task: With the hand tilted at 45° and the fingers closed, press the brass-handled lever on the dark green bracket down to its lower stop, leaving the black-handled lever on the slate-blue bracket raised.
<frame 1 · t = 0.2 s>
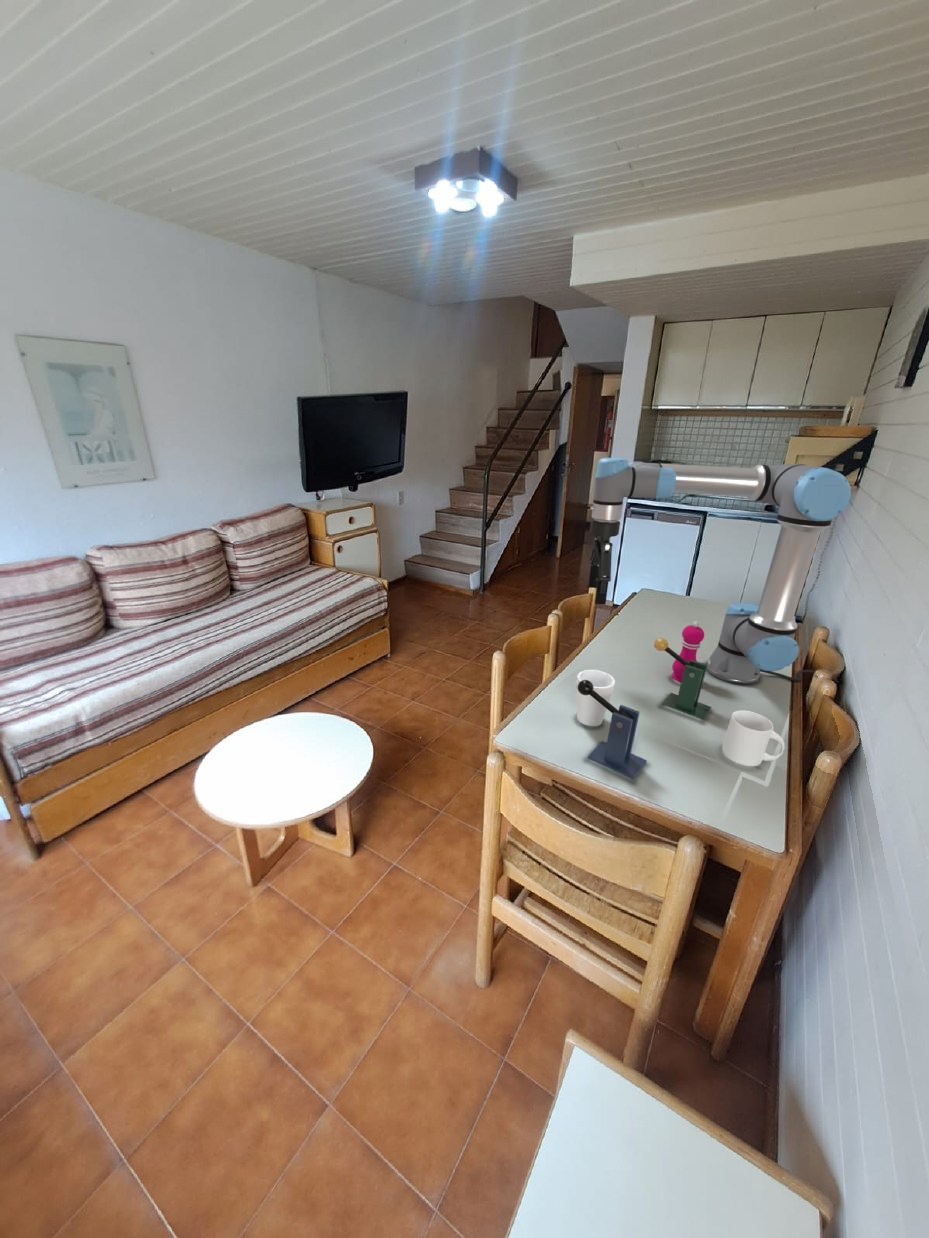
hand: (596, 595, 138), 28 cm above the table, tool pointing down, fingers open, 13 cm apart
blue bracket: (616, 762, 115), on the table
mug: (748, 760, 117), on the table
green bracket: (685, 708, 137), on the table
foam cup: (589, 722, 130), on the table
pepper mill: (681, 681, 152), on the table
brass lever: (677, 657, 134), point 14 cm above the table, hinge at 25.0°
black lever: (604, 702, 112), point 14 cm above the table, hinge at 22.0°
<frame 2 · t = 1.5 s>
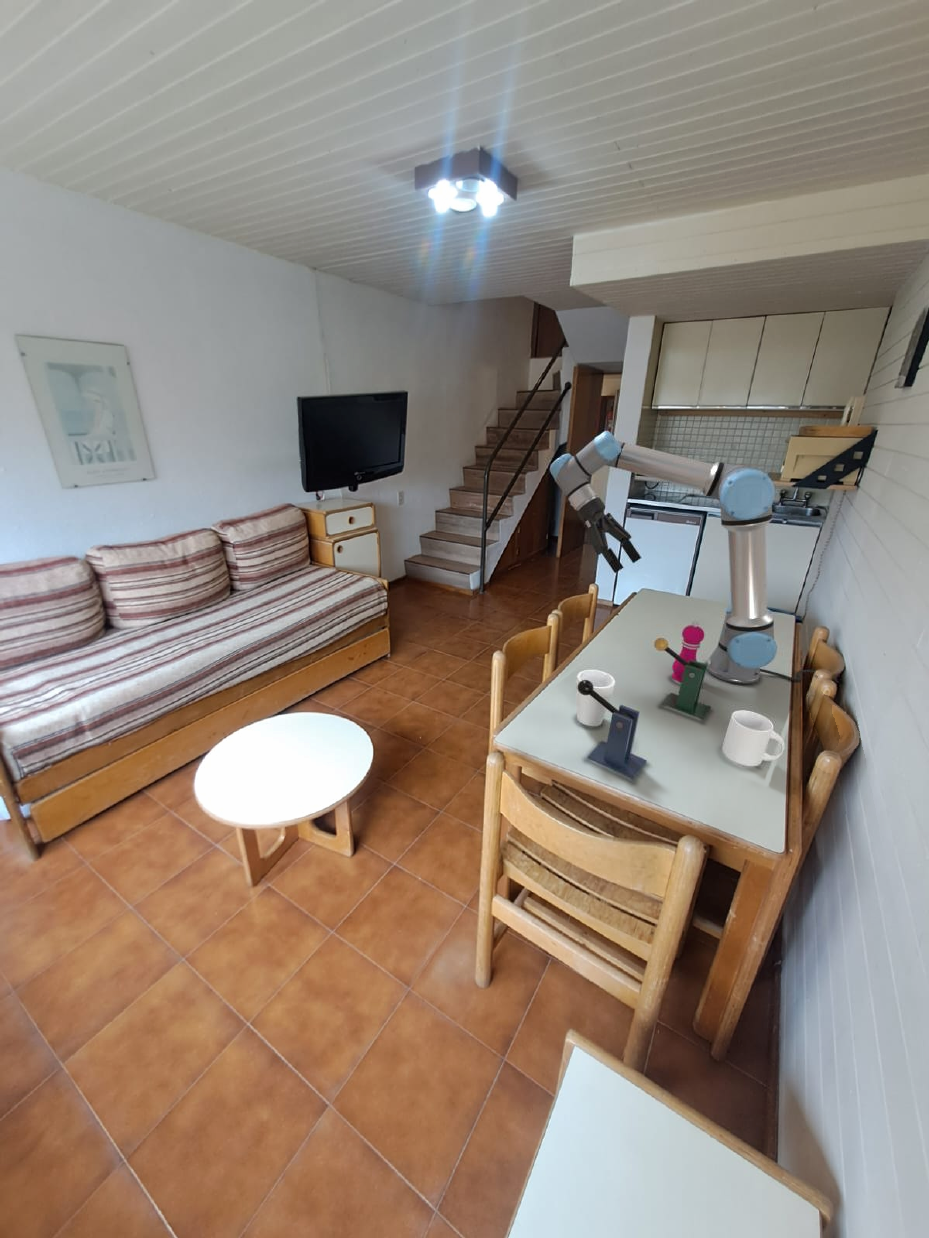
hand: (628, 565, 139), 36 cm above the table, tool tilted 45°, fingers open, 13 cm apart
nothing on the table moved.
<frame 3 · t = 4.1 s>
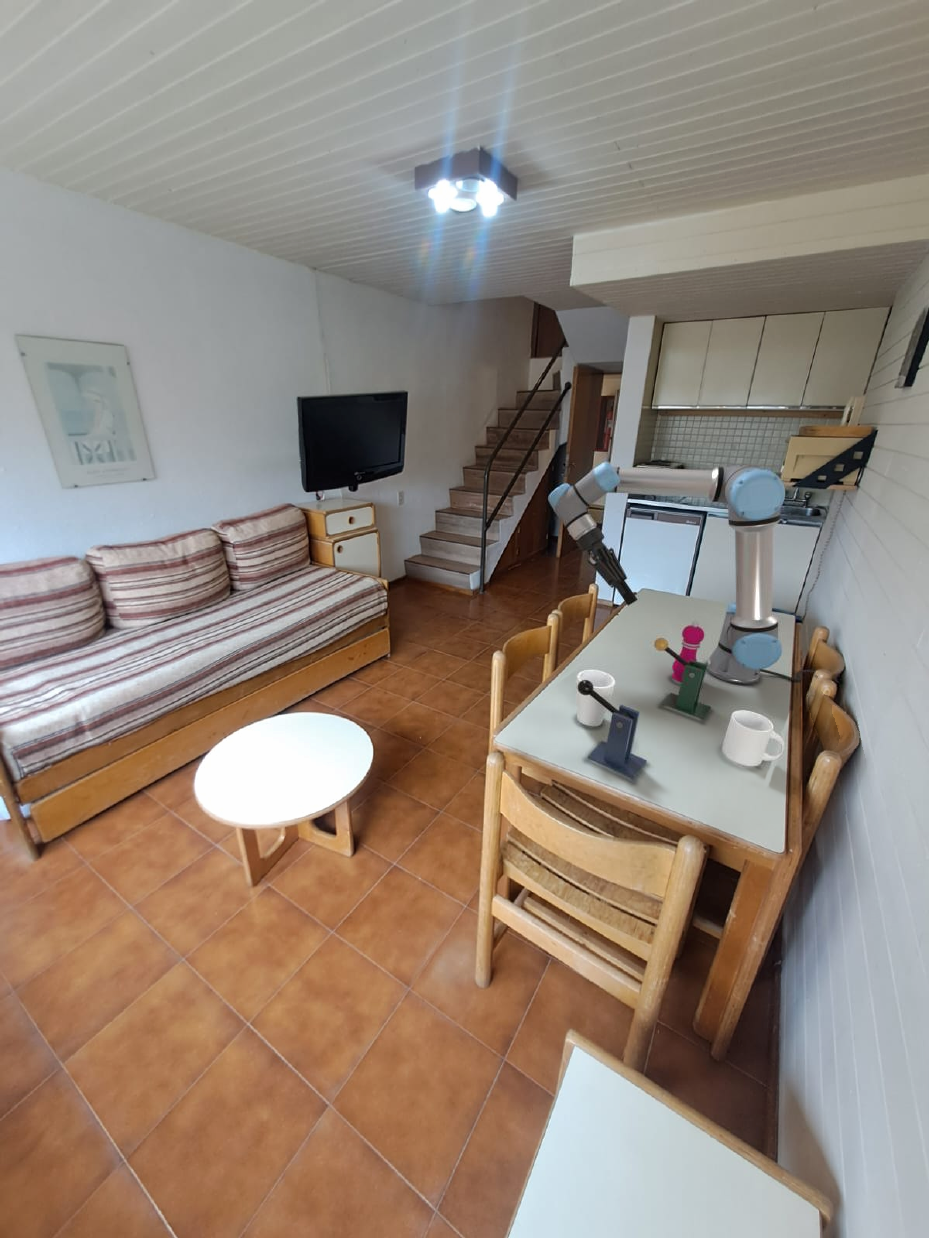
hand: (632, 602, 138), 26 cm above the table, tool tilted 45°, fingers closed
nothing on the table moved.
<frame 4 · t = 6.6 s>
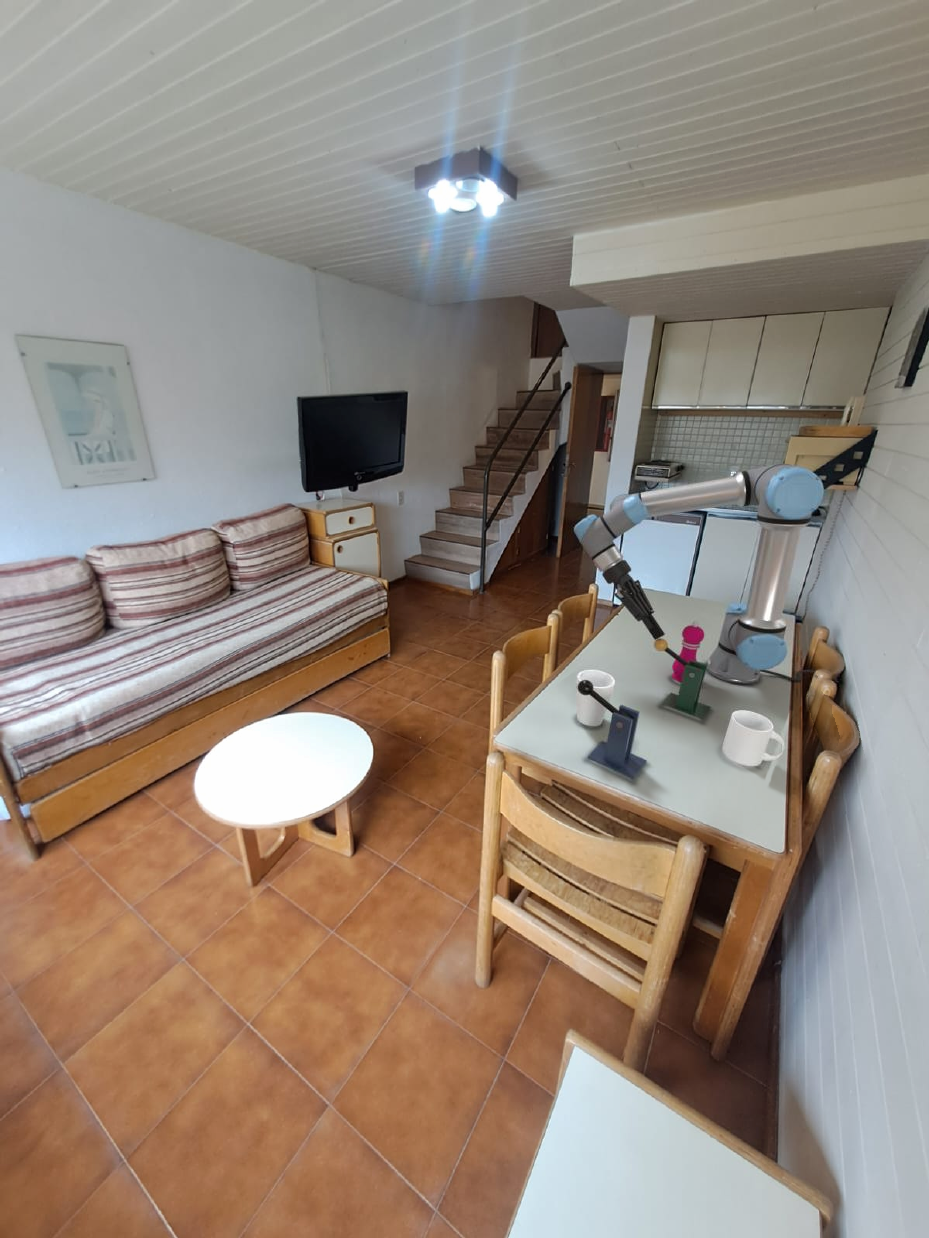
hand: (659, 637, 136), 19 cm above the table, tool tilted 45°, fingers closed
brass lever: (677, 657, 134), point 14 cm above the table, hinge at 24.2°, touching gripper
everything else where it was.
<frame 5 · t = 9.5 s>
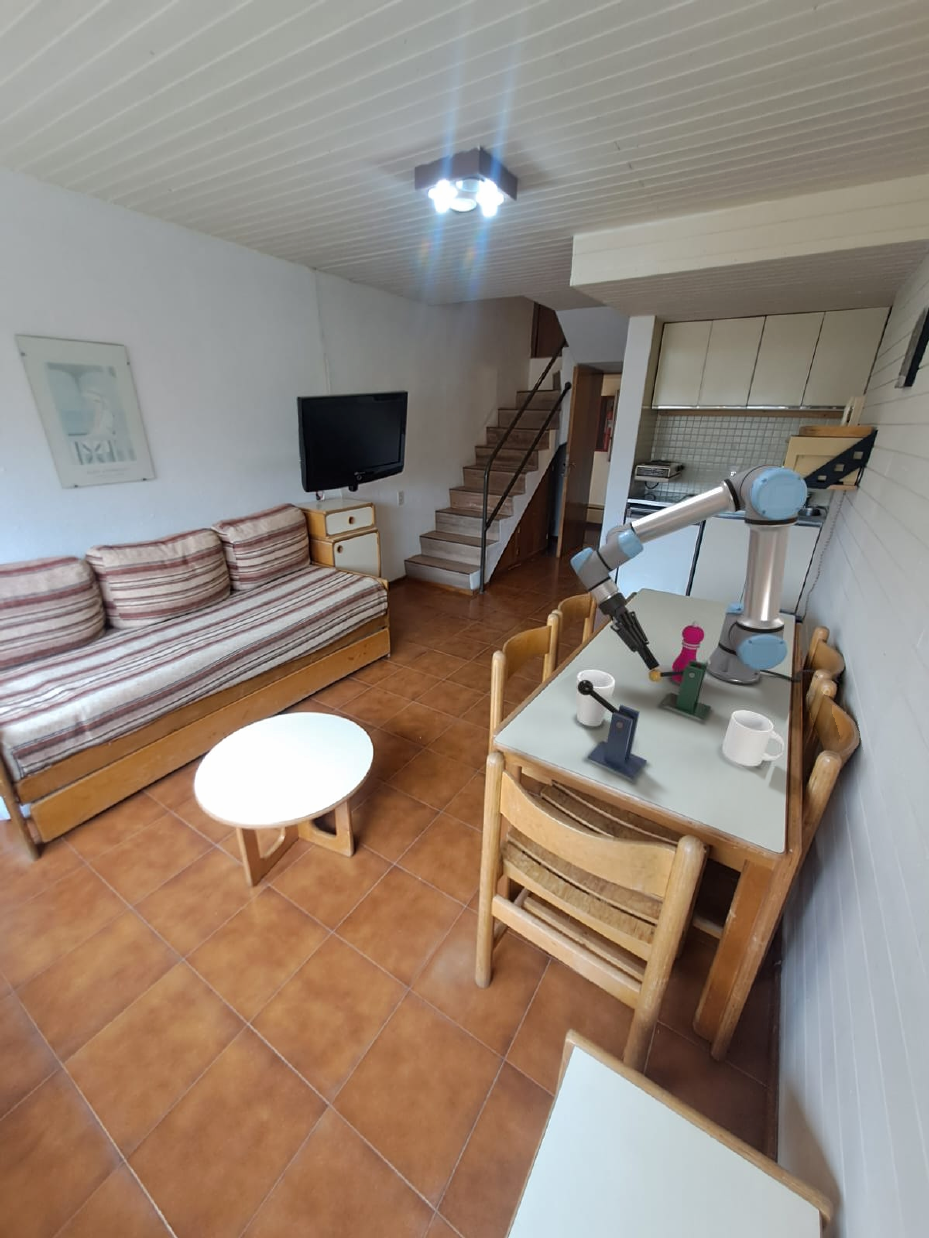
hand: (654, 667, 139), 9 cm above the table, tool tilted 45°, fingers closed
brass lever: (673, 673, 136), point 9 cm above the table, hinge at -27.6°, touching gripper
everything else where it was.
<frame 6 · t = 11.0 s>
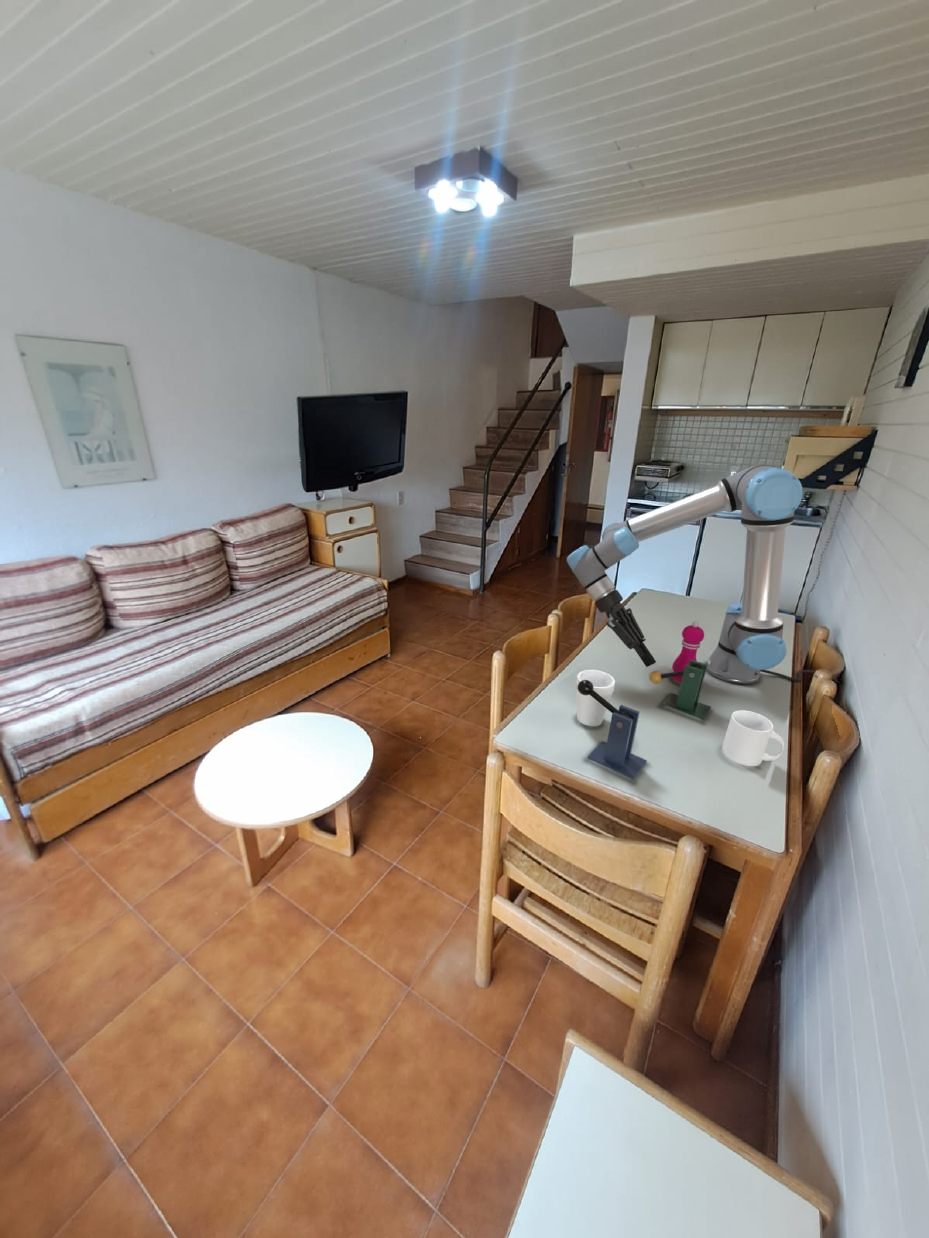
hand: (651, 664, 140), 10 cm above the table, tool tilted 45°, fingers closed
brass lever: (674, 674, 136), point 9 cm above the table, hinge at -30.4°
everything else where it was.
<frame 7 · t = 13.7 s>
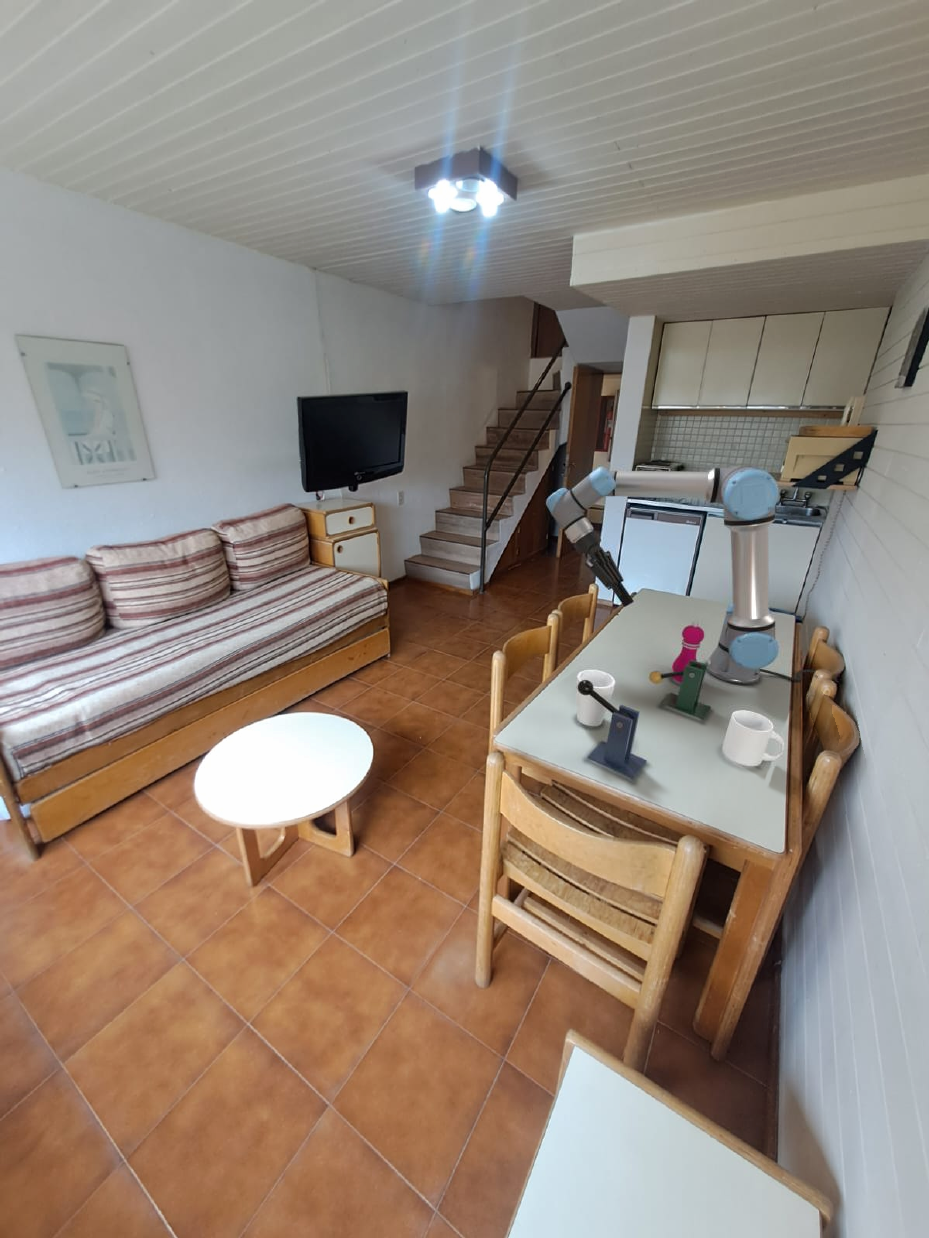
hand: (629, 604, 141), 25 cm above the table, tool tilted 45°, fingers closed
nothing on the table moved.
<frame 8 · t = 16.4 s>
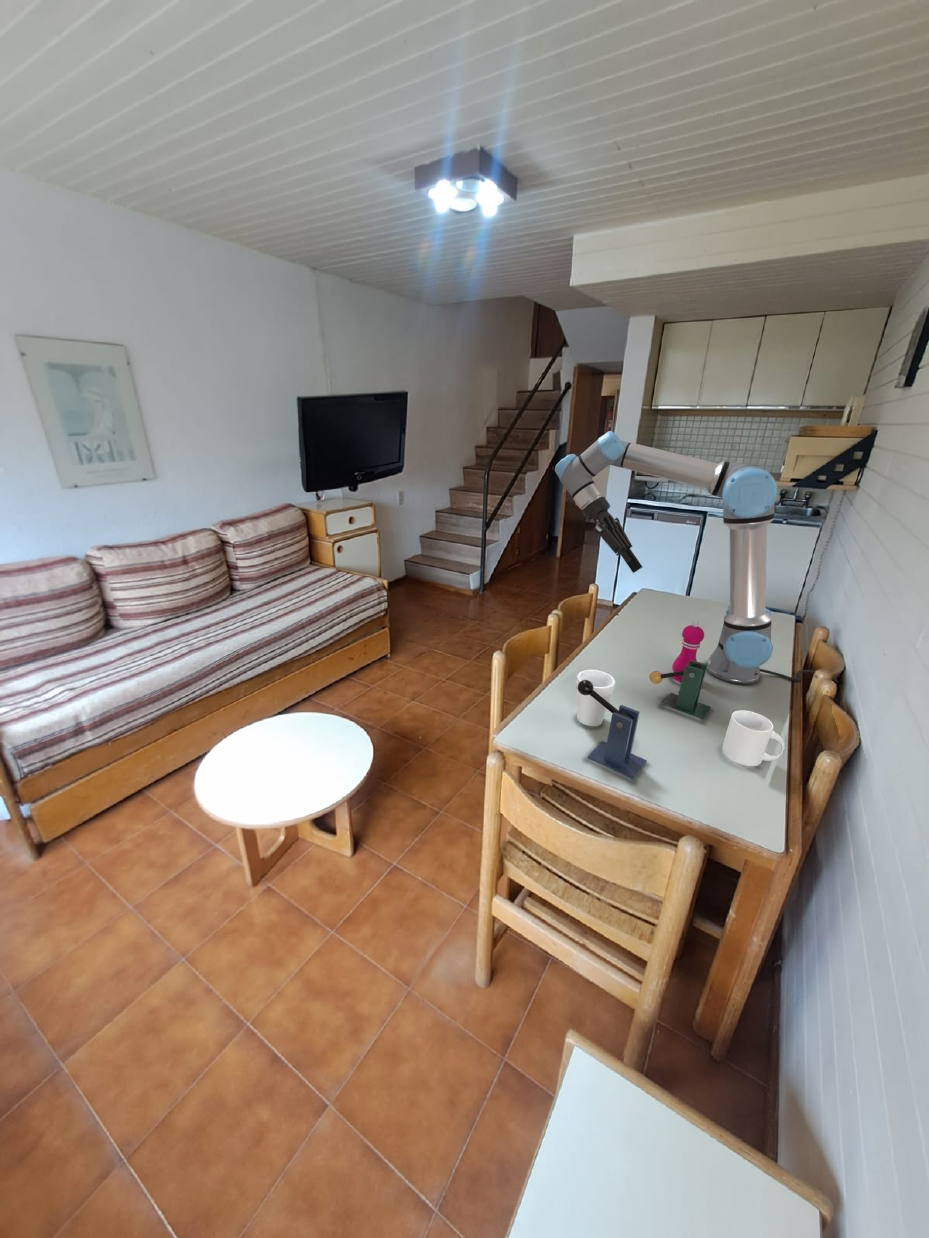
hand: (637, 570, 141), 34 cm above the table, tool tilted 45°, fingers closed
nothing on the table moved.
at the end: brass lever at -30° (first picture: +25°); black lever at +22° (first picture: +22°) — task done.
